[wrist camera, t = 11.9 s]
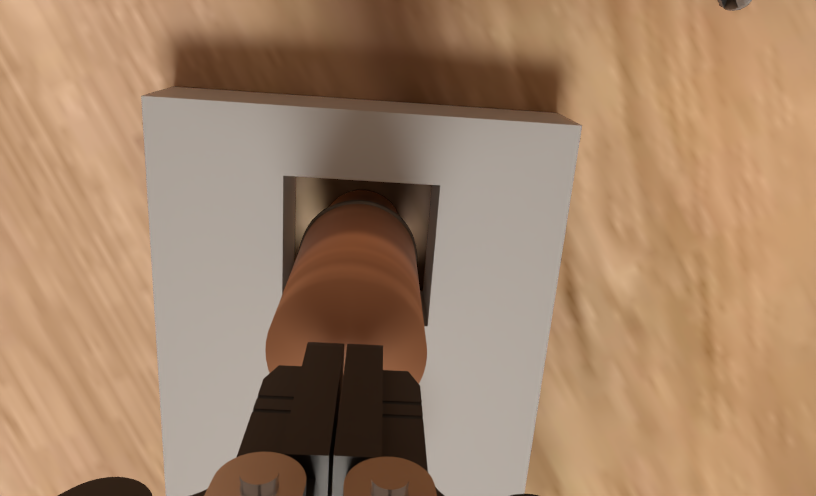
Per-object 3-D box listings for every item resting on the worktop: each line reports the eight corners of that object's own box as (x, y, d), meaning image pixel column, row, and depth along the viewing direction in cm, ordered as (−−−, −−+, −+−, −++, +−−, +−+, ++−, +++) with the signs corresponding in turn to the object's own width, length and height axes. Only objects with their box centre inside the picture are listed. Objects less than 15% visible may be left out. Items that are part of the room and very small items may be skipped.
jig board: (173, 86, 22) (21, 130, 13) (557, 113, 22) (672, 172, 13) (193, 521, 27) (99, 763, 18) (496, 531, 28) (549, 770, 19)
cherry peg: (311, 174, 23) (262, 272, 14) (416, 181, 23) (436, 281, 14) (309, 272, 24) (263, 421, 15) (409, 277, 24) (422, 428, 15)
